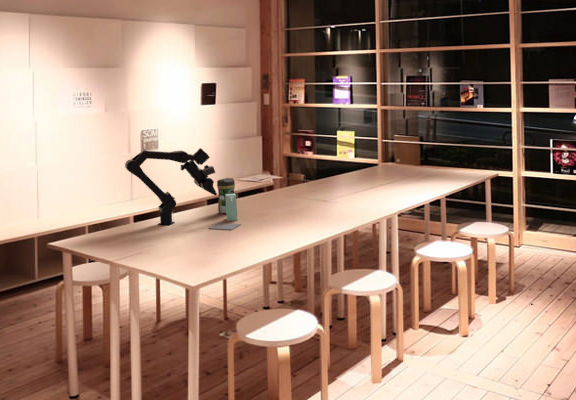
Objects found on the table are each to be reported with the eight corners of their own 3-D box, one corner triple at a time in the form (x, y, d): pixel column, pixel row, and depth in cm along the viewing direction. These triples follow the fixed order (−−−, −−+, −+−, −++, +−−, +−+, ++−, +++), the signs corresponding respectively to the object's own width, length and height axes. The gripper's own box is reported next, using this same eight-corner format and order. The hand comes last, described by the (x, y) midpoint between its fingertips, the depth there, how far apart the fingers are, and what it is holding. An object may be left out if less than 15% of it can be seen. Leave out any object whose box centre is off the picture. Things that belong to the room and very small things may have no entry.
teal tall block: (227, 220, 357) (226, 195, 354) (226, 218, 362) (225, 194, 359) (237, 220, 358) (236, 195, 355) (235, 218, 363) (235, 193, 360)
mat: (231, 230, 336) (231, 229, 336) (208, 228, 340) (208, 228, 340) (241, 224, 347) (241, 224, 347) (218, 223, 351) (218, 222, 351)
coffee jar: (227, 210, 384) (226, 176, 381) (238, 211, 380) (237, 177, 376) (215, 213, 377) (214, 179, 373) (226, 214, 372) (225, 180, 369)
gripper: (211, 162, 347) (230, 185, 352) (201, 158, 364) (220, 180, 370) (194, 177, 345) (214, 200, 351) (185, 172, 362) (205, 194, 368)
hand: (213, 193), depth 360 cm, fingers open, 9 cm apart
